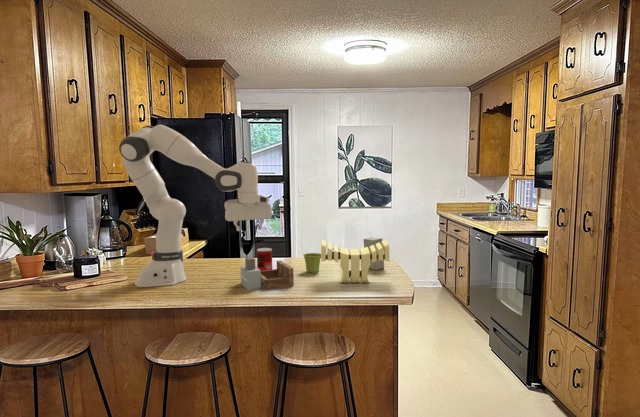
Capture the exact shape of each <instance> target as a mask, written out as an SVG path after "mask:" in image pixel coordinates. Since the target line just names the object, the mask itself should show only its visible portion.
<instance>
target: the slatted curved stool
mask: <svg viewBox="0 0 640 417" xmlns="http://www.w3.org/2000/svg"><path fill="white" fill-rule="evenodd" d="M381 245H382V246H381ZM333 247H334V248H333ZM339 248H340V250H339ZM320 249H321V250H320V252H321V253H320V254H321V259H320V263H322V262H326V261H328V262H329V261H333V262H336V263H339V260H340V263H339V264H340V265H339V266H340V268H341V271H342V273H341V274H340V283H343V284H345V283H352V284H353V283H355V284H356V283H357V284H359V283H363V284H364V283H365V284H366V283H371V282H370V279H369V270H370V269H369V268H370V259H371V261H372V263H373V262H375V261H377V259H378V260H383V259H384V262H390V244H389V242H388V241H387V239H382V241H381V244H380V242H379V243H377V244H376V249H377V254H376V249H375V247H374V245H372V246H370V251H371V254H370V252H369V249H368V247H365V248H364V247H361V248H359V249H358V248H350V249H349V248H347V247H342V246H341V247H339V246H338V245H336V244H335V245H333V243H331V242H328V243H327V240H324V239H322V241H321V247H320ZM339 253H340V254H339ZM349 253H350V254H349ZM360 269H361V270H360ZM360 281H361V282H360Z"/></svg>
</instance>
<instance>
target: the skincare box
mask: <svg viewBox="0 0 640 417" xmlns="http://www.w3.org/2000/svg"><path fill="white" fill-rule="evenodd" d="M381 241H383V238H381V237H373V236H372V237H367V238H363V248H365V247H368V249H369V252H370V254H371V251H370V246H372V245H374V247H375V249H376V244H377V243H379V242H380V244H381ZM381 246H382V245H381ZM376 254H377V249H376ZM382 268H384V269H385V259H383V260H378V259H377V261H375V262H373V263H372V261H371V259H370V269H369V270H374V271H377V270H383V269H382Z"/></svg>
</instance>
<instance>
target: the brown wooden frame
mask: <svg viewBox="0 0 640 417" xmlns="http://www.w3.org/2000/svg"><path fill="white" fill-rule="evenodd" d="M294 285H295V284H294V267H292V266H290V265H288V264H287V263H286V262H284V261H282V260H276V269H272V270H264V271H261V287H263V288H264V289H265V290H272V289H281V288H288V287H294Z"/></svg>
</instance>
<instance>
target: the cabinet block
mask: <svg viewBox="0 0 640 417" xmlns="http://www.w3.org/2000/svg"><path fill="white" fill-rule="evenodd" d="M244 262H245V263H244V265H241V266H240V283H241V285H242V286H243V287H244V288H245V289H246V290H247V291H250V290H259V289H262V285H261V270H259V269H258V268H257V265H256V259H255V258H254V257H253V256H248V257H245V258H244Z"/></svg>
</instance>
